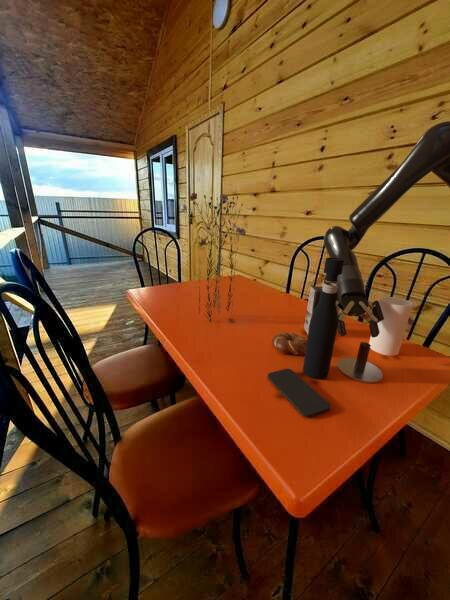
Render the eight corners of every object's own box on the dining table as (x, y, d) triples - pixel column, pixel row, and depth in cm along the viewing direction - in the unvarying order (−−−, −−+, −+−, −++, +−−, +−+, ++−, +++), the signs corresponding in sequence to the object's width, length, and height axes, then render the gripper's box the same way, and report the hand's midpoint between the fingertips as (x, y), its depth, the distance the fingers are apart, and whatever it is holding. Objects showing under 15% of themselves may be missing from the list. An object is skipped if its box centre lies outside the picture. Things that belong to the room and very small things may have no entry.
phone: (305, 416, 51) (265, 373, 64) (305, 419, 51) (265, 376, 64) (333, 406, 54) (289, 367, 67) (332, 409, 54) (289, 370, 67)
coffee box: (308, 336, 87) (315, 291, 81) (303, 327, 93) (309, 285, 87) (335, 337, 86) (344, 292, 81) (328, 329, 93) (336, 286, 87)
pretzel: (311, 343, 82) (313, 333, 81) (310, 360, 72) (312, 349, 71) (274, 336, 85) (275, 326, 84) (268, 352, 76) (269, 341, 75)
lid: (372, 361, 73) (378, 336, 70) (390, 386, 62) (398, 357, 60) (332, 357, 74) (337, 332, 71) (343, 380, 64) (350, 353, 61)
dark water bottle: (297, 370, 67) (314, 257, 58) (311, 362, 71) (329, 255, 61) (318, 383, 63) (340, 262, 53) (333, 374, 66) (356, 260, 56)
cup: (376, 355, 76) (390, 305, 71) (363, 341, 84) (374, 296, 79) (404, 356, 76) (419, 306, 71) (389, 343, 84) (401, 297, 78)
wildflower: (223, 304, 114) (227, 196, 99) (256, 322, 96) (266, 193, 81) (176, 313, 102) (173, 192, 87) (203, 336, 84) (204, 188, 69)
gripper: (329, 276, 72) (338, 330, 65) (379, 278, 72) (394, 332, 65) (320, 288, 79) (327, 339, 72) (366, 290, 79) (378, 341, 72)
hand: (359, 336), depth 69 cm, fingers open, 8 cm apart
